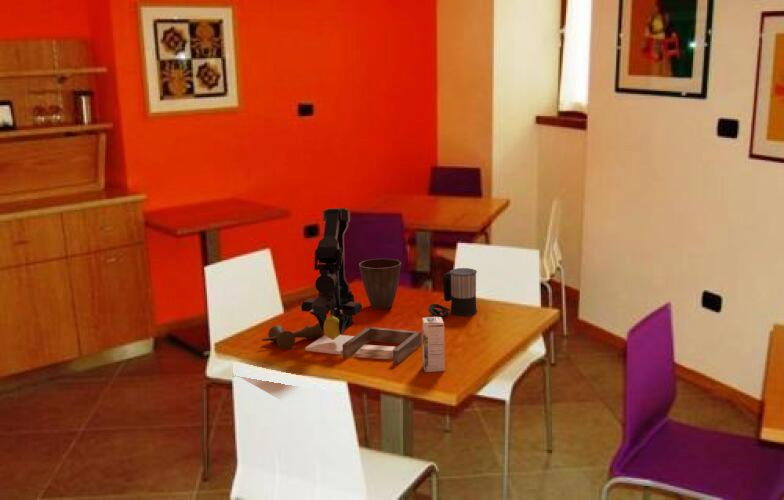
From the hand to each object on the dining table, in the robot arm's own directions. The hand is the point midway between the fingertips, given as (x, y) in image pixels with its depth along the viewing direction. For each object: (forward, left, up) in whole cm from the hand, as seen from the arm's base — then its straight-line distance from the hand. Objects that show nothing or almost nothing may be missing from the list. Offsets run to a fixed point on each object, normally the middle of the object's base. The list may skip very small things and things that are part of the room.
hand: (332, 333), depth 252 cm
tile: (0, 0, -4) cm, 4 cm away
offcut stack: (+17, -5, -4) cm, 18 cm away
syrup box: (+37, -9, -4) cm, 38 cm away
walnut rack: (+17, 0, -4) cm, 17 cm away
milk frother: (+25, +41, -4) cm, 49 cm away
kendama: (-14, -2, -4) cm, 15 cm away
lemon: (0, 0, -2) cm, 2 cm away
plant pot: (-3, +43, -4) cm, 43 cm away
